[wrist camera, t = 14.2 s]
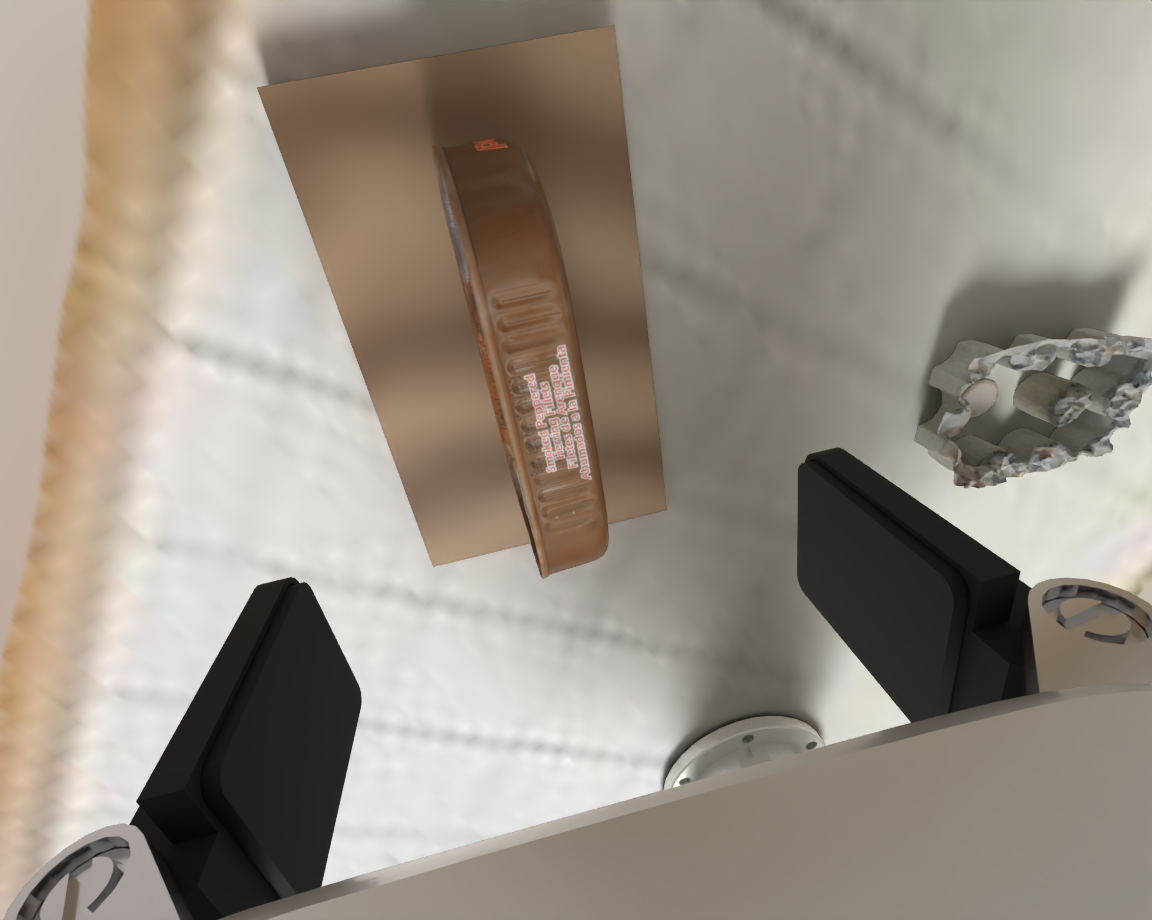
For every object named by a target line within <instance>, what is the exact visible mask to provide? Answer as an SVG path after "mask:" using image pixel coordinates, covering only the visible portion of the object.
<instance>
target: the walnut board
mask: <svg viewBox="0 0 1152 920" xmlns="http://www.w3.org/2000/svg"><path fill="white" fill-rule="evenodd" d="M257 89H258V92H259V95H260V97H261V100H262V103H263V106H264V108H265V111H266V114H267V116H268V119H269V122H270V125H271V127H272V130H273V133H274V135H275V138H276V141H277V144H278V146H279V149H280V152H281V155H282V157H283V160H284V163H285V165H286V168H287V171H288V174H289V176H290V179H291V182H292V184H293V187H294V190H295V193H296V195H297V198H298V201H299V203H300V206H301V209H302V212H303V214H304V217H305V220H306V222H307V225H308V228H309V231H310V233H311V236H312V239H313V242H314V244H315V247H316V250H317V252H318V255H319V258H320V261H321V263H322V266H323V269H324V271H325V274H326V277H327V280H328V282H329V285H330V288H331V290H332V293H333V296H334V299H335V301H336V304H337V307H338V309H339V312H340V315H341V318H342V320H343V323H344V326H345V329H346V331H347V334H348V337H349V339H350V342H351V345H352V348H353V350H354V353H355V356H356V358H357V361H358V364H359V367H360V369H361V372H362V375H363V377H364V380H365V383H366V386H367V388H368V391H369V394H370V397H371V399H372V402H373V405H374V407H375V410H376V413H377V416H378V418H379V421H380V424H381V426H382V429H383V432H384V435H385V437H386V440H387V443H388V445H389V448H390V451H391V454H392V456H393V459H394V462H395V464H396V467H397V470H398V473H399V475H400V478H401V481H402V484H403V486H404V489H405V492H406V494H407V497H408V500H409V503H410V505H411V508H412V511H413V513H414V516H415V519H416V522H417V524H418V527H419V530H420V532H421V535H422V538H423V541H424V543H425V546H426V549H427V552H428V554H429V557H430V560H431V562H432V565H433V567H435V566H439V565H444V564H448V563H452V562H456V561H460V560H464V559H468V558H472V557H476V556H480V555H484V554H488V553H493V552H497V551H501V550H505V549H509V548H513V547H517V546H521V545H525V544H529V543H531V541H530V537H529V534H528V531H527V528H526V525H525V522H524V518H523V514H522V511H521V508H520V505H519V501H518V497H517V495H516V491H515V487H514V484H513V480H512V477H511V473H510V469H509V465H508V461H507V457H506V454H505V450H504V447H503V444H502V439H501V435H500V432H499V428H498V424H497V420H496V416H495V412H494V409H493V405H492V401H491V397H490V393H489V389H488V385H487V380H486V376H485V373H484V369H483V364H482V360H481V357H480V353H479V349H478V345H477V341H476V337H475V333H474V329H473V325H472V321H471V317H470V313H469V310H468V305H467V302H466V297H465V294H464V290H463V286H462V282H461V278H460V274H459V270H458V265H457V261H456V257H455V252H454V249H453V246H452V242H451V238H450V234H449V230H448V226H447V222H446V218H445V214H444V210H443V205H442V200H441V195H440V189H439V184H438V178H437V173H436V168H435V164H434V158H433V153H432V146H433V145H440V146H441V147H451V146H457V145H463V144H468V143H473V142H478V141H483V140H488V139H495V138H506V139H509V140H511V141H512V142H514V143H516V144H517V145H519V146H520V147H522V148H523V149H524V151H525V152H526V153H527V154H528V156H529V157H530V159H531V161H532V163H533V165H534V167H535V169H536V171H537V174H538V176H539V179H540V181H541V183H542V186H543V189H544V192H545V195H546V198H547V201H548V204H549V207H550V210H551V213H552V217H553V220H554V224H555V228H556V232H557V236H558V240H559V244H560V248H561V253H562V257H563V261H564V266H565V271H566V275H567V280H568V285H569V290H570V296H571V302H572V307H573V313H574V318H575V324H576V329H577V334H578V339H579V346H580V353H581V358H582V363H583V368H584V374H585V380H586V386H587V392H588V398H589V404H590V410H591V415H592V421H593V427H594V433H595V440H596V446H597V451H598V458H599V465H600V471H601V477H602V484H603V490H604V496H605V503H606V511H607V519H608V524H611V523H615V522H619V521H623V520H627V519H632V518H636V517H640V516H644V515H648V514H652V513H656V512H660V511H664V510H667V505H666V496H665V487H664V477H663V468H662V459H661V450H660V441H659V431H658V422H657V413H656V404H655V395H654V386H653V376H652V367H651V358H650V349H649V340H648V330H647V321H646V312H645V303H644V294H643V285H642V275H641V266H640V257H639V248H638V239H637V229H636V220H635V211H634V202H633V193H632V184H631V174H630V165H629V156H628V147H627V138H626V128H625V119H624V110H623V101H622V92H621V82H620V73H619V64H618V55H617V46H616V37H615V27H614V25H613V26H607V27H601V28H595V29H590V30H584V31H578V32H572V33H567V34H561V35H555V36H550V37H544V38H538V39H532V40H527V41H521V42H515V43H509V44H504V45H498V46H492V47H486V48H481V49H475V50H469V51H463V52H458V53H452V54H446V55H440V56H435V57H429V58H423V59H417V60H412V61H406V62H400V63H394V64H389V65H383V66H377V67H371V68H366V69H360V70H354V71H349V72H343V73H337V74H331V75H326V76H320V77H314V78H308V79H303V80H297V81H291V82H285V83H280V84H274V85H268V86H262V87H257Z"/></svg>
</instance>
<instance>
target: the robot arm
mask: <svg viewBox="0 0 1152 920" xmlns="http://www.w3.org/2000/svg"><path fill="white" fill-rule="evenodd" d="M797 576H798V581H799V584H800V587H801V589H802V591H803V592H804V594H805V595H806V596H807V597H808V598H809V600H810V601H811V602H812V603H813V604H814V606H815V607H816V608H817V609H818V611H819V612H820V613H821V614H822V615H823V617H824V618H825V619H826V620H827V621H828V623H829V624H830V625H831V626H832V627H833V629H834V630H835V631H836V632H837V633H838V635H839V636H840V637H841V638H842V639H843V641H844V642H845V643H846V644H847V646H848V647H849V648H850V649H851V650H852V652H853V653H854V654H855V655H856V656H857V658H858V659H859V660H860V661H861V662H862V664H863V665H864V666H865V667H866V668H867V670H868V671H869V672H870V673H871V675H872V676H873V677H874V678H875V679H876V681H877V682H878V683H879V684H880V685H881V687H882V688H883V689H884V690H885V691H886V693H887V694H888V695H889V696H890V697H891V699H892V700H893V701H894V702H895V704H896V705H897V706H898V707H899V708H900V710H901V711H902V712H903V713H904V714H905V716H906V717H907V718H908V719H909V720H910V722H911V723H909V724H905V725H901V726H897V727H894V728H890V729H886V730H883V731H879V732H875V733H871V734H868V735H864V736H860V737H857V738H853V739H849V740H846V741H842V742H838V743H835V744H831V745H827V746H825V744H824V742H823V741H822V739H821V738H820V736H819V735H818V733H817V732H816V731H815V730H814V729H813V728H812V727H811V726H809V725H808V724H807V723H804V722H802V721H800V720H798V719H794V718H789V717H785V716H761V717H753V718H749V719H745V720H741V721H737V722H734V723H732V724H729V725H726V726H724V727H721V728H719V729H717V730H715V731H713V732H711V733H710V734H708V735H706V736H705V737H703V738H702V739H700V740H699V741H697V742H696V743H694V744H693V745H692V746H691V747H690V748H689V749H687V750H686V751H685V752H684V753H683V754H682V755H681V756H680V758H679V759H678V760H677V761H676V763H675V764H674V765H673V767H672V768H671V770H670V772H669V774H668V776H667V778H666V781H665V785H664V790H662V791H659V792H655V793H651V794H648V795H644V796H640V797H637V798H633V799H630V800H626V801H622V802H619V803H615V804H612V805H608V806H604V807H601V808H597V809H594V810H590V811H586V812H583V813H579V814H576V815H572V816H568V817H565V818H561V819H558V820H554V821H550V822H547V823H543V824H540V825H536V826H532V827H529V828H525V829H522V830H518V831H515V832H511V833H508V834H504V835H501V836H497V837H494V838H490V839H487V840H483V841H479V842H476V843H472V844H469V845H465V846H462V847H458V848H455V849H451V850H448V851H444V852H441V853H437V854H433V855H430V856H426V857H423V858H419V859H416V860H412V861H409V862H405V863H402V864H398V865H395V866H391V867H388V868H384V869H380V870H377V871H373V872H370V873H366V874H363V875H360V876H356V877H353V878H350V879H346V880H343V881H340V882H336V883H333V884H330V885H326V886H323V887H321V886H322V881H323V877H324V872H325V867H326V863H327V858H328V854H329V849H330V845H331V840H332V836H333V831H334V827H335V822H336V818H337V813H338V809H339V804H340V800H341V795H342V791H343V786H344V781H345V777H346V772H347V768H348V763H349V759H350V754H351V750H352V745H353V741H354V736H355V732H356V727H357V723H358V718H359V714H360V709H361V691H360V687H359V685H358V683H357V681H356V679H355V677H354V674H353V672H352V670H351V668H350V666H349V664H348V662H347V660H346V658H345V656H344V654H343V652H342V650H341V648H340V646H339V644H338V642H337V640H336V638H335V636H334V634H333V632H332V630H331V628H330V626H329V624H328V622H327V620H326V618H325V615H324V613H323V611H322V609H321V607H320V605H319V603H318V601H317V599H316V597H315V595H314V593H313V591H312V589H311V587H310V586H309V585H308V584H307V583H305V582H303V583H299V582H298V581H297V580H296V579H295V578H292V577H290V578H286V579H281V580H277V581H273V582H269V583H265V584H261V585H258V586H257V587H256V588H255V589H254V591H253V593H252V595H251V596H250V598H249V600H248V602H247V604H246V605H245V607H244V609H243V611H242V612H241V614H240V616H239V618H238V620H237V621H236V623H235V625H234V627H233V629H232V630H231V632H230V634H229V636H228V638H227V639H226V641H225V643H224V645H223V647H222V648H221V650H220V652H219V654H218V656H217V657H216V659H215V661H214V663H213V665H212V666H211V668H210V670H209V672H208V674H207V675H206V677H205V679H204V681H203V683H202V684H201V686H200V688H199V690H198V691H197V693H196V695H195V697H194V699H193V700H192V702H191V704H190V706H189V708H188V709H187V711H186V713H185V715H184V717H183V718H182V720H181V722H180V724H179V726H178V727H177V729H176V731H175V733H174V735H173V736H172V738H171V740H170V742H169V744H168V745H167V747H166V749H165V751H164V753H163V754H162V756H161V758H160V760H159V762H158V763H157V765H156V767H155V769H154V771H153V772H152V774H151V776H150V778H149V779H148V781H147V783H146V785H145V787H144V788H143V790H142V792H141V794H140V796H139V797H138V799H137V801H136V802H137V803H138V804H139V808H138V810H137V812H136V814H135V815H134V817H133V819H132V821H131V823H130V825H127V824H118V825H113V826H108V827H104V828H102V829H100V830H98V831H95V832H93V833H91V834H88V835H86V836H84V837H83V838H81V839H80V840H78V841H76V842H75V843H73V844H72V845H70V846H69V847H67V848H65V849H64V850H63V851H62V852H60V853H59V854H58V855H57V856H55V857H54V858H53V859H52V860H51V861H49V862H48V863H47V864H46V865H45V866H43V867H42V868H41V869H40V871H39V872H38V873H37V874H36V875H35V876H34V877H33V878H32V879H31V880H30V881H29V882H28V883H27V884H26V885H25V886H24V888H23V889H22V890H21V892H20V893H19V895H18V896H17V897H16V899H15V900H14V902H13V903H12V904H11V906H10V907H9V909H8V910H7V913H6V915H5V917H4V919H3V920H1152V605H1150V604H1149V603H1148V602H1146V601H1144V600H1142V599H1141V598H1139V597H1137V596H1135V595H1133V594H1132V593H1130V592H1128V591H1125V590H1122V589H1120V588H1117V587H1114V586H1111V585H1109V584H1105V583H1101V582H1096V581H1092V580H1088V579H1077V578H1057V579H1049V580H1046V581H1043V582H1040V583H1038V584H1036V585H1035V586H1034V587H1033V588H1030V587H1029V586H1027V585H1026V584H1025V583H1023V582H1022V581H1020V580H1019V576H1020V571H1019V570H1018V569H1016V568H1015V567H1013V566H1012V565H1010V564H1009V563H1007V562H1006V561H1005V560H1003V559H1002V558H1000V557H999V556H997V555H996V554H994V553H993V552H992V551H990V550H989V549H987V548H986V547H984V546H983V545H981V544H980V543H978V542H977V541H976V540H974V539H973V538H971V537H970V536H968V535H967V534H965V533H964V532H963V531H961V530H960V529H958V528H957V527H955V526H954V525H952V524H951V523H949V522H948V521H947V520H945V519H944V518H942V517H941V516H939V515H938V514H936V513H935V512H934V511H932V510H931V509H929V508H928V507H926V506H925V505H923V504H922V503H920V502H919V501H918V500H916V499H915V498H913V497H912V496H910V495H909V494H907V493H906V492H905V491H903V490H902V489H900V488H899V487H897V486H896V485H894V484H893V483H891V482H890V481H889V480H887V479H886V478H884V477H883V476H881V475H880V474H878V473H877V472H876V471H874V470H873V469H871V468H870V467H868V466H867V465H865V464H864V463H862V462H861V461H860V460H858V459H857V458H855V457H854V456H852V455H851V454H849V453H848V452H847V451H845V450H844V449H841V448H833V449H829V450H825V451H821V452H816V453H812V454H809V455H808V456H807V458H806V460H805V463H802V464H801V465H800V466H799V468H798V538H797Z"/></svg>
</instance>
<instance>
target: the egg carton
mask: <svg viewBox="0 0 1152 920" xmlns="http://www.w3.org/2000/svg"><path fill="white" fill-rule="evenodd" d="M1056 357H1057V358H1061V359H1064V360H1067V361H1070V362H1074V363H1076V364H1080V365H1083V366H1086V368H1084V369H1082V370H1081V371H1080V372H1078V373H1077V374H1076V375H1075V376H1074V377H1073V378H1072V379H1071V381H1070V380H1067V379H1064V378H1061V377H1058V376H1055V375H1052V374H1048V373H1045V372H1041V371H1043V370H1044V369H1045V368H1046V367H1048V366H1049V365H1050V364H1051V363H1052V362H1053V361H1054V360H1055V359H1056ZM996 363H997V364H999V365H1002V366H1005V367H1008V368H1011V369H1013V370H1017V371H1025V370H1031V369H1032V370H1038V371H1040V372H1036V373H1034V374H1032V375H1030V376H1028V377H1027V378H1026V379H1025V380H1024V381H1022V382H1021V383H1020V384H1019V386H1018V387H1017V389H1016V391H1015V393H1014V397H1013V404H1014V406H1015V407H1016V408H1017V409H1019V410H1021V411H1023V412H1025V413H1028V414H1030V415H1032V416H1034V417H1036V418H1039V419H1041V420H1044V421H1046V422H1049V423H1051V424H1053V425H1055V426H1056V427H1057V428H1056V429H1055V430H1054V431H1053V432H1052V433H1051V435H1050V437H1049V438H1047V437H1045V436H1043V435H1041V434H1038V433H1036V432H1034V431H1031V430H1029V429H1025V428H1019V429H1015V430H1013V431H1011V432H1009V433H1008V434H1006V435H1005V437H1004V438H1003V439H1002V440H1001V441H1000V443H999V444H998V445H997V446H995V445H993V444H991V443H989V442H987V441H985V440H983V439H981V438H978V437H976V436H974V435H967V436H963V437H961V438H959V439H957V440H956V441H955V442H952V441H951V440H949V438H951V437H954V436H955V435H957V434H959V433H960V432H961V430H962V429H963V427H964V426H965V425H966V423H967V422H968V420H969V419H970V418H974V417H978V416H980V415H982V414H984V413H985V412H986V411H988V410H989V409H990V408H991V406H992V405H993V404H994V403H995V401H996V399H997V395H998V387H997V385H996V384H995V382H993V381H991V380H988V379H983V380H979V379H982V378H985V377H986V376H988V375H989V374H990V371H991V369H992V368H993V367H994V366H995V364H996ZM1151 372H1152V338H1141V337H1132V336H1120V335H1116V334H1112V333H1107V332H1104V331H1100V330H1095V329H1091V328H1077V329H1073V330H1072V332H1071V333H1070V335H1069V337H1068V338H1067V339H1066V340H1064V339H1050V338H1046V337H1042V336H1038V335H1035V334H1021V335H1017V336H1016V337H1015V339H1014V341H1013V342H1012V344H1011V345H1010V347H1009V348H1008V349H1006V350H1003V349H1001V348H998V347H995V346H992V345H989V344H986V343H982V342H979V341H976V340H966V341H960V342H959V343H958V344H957V346H956V348H955V350H954V352H953V353H952V355H951V356H950V357H949V358H948V359H947V360H946V361H944V362H943V363H941V364H939V365H937V366H935V367H934V368H933V370H932V372H931V376H930V379H929V385H930V386H933V387H935V388H939V389H940V390H941V392H942V404H941V407H940V409H939V411H938V412H937V414H936V415H935V416H934V417H933V418H932V419H931V420H929V421H927V422H925V423H923V424H921V425H919V426H918V428H917V432H916V436H915V440H914V441H915V442H917V443H919V444H920V445H922V446H924V447H925V448H927V449H928V453H929V455H930V456H931V457H932V458H934V459H935V460H936V461H938V462H939V463H940V464H941V465H943V466H944V467H946V468H947V469H949V470H952V471H954V484H955V485H957V486H964V487H963V488H969V487H976V488H981V487H985V486H996V485H997V484H1000V483H1003V482H1007V481H1006V478H1005V477H1022V476H1023V475H1024V474H1025V473H1031V472H1037V471H1049V470H1052V469H1054V468H1057V467H1060V466H1062V465H1064V464H1066V463H1067V462H1071V461H1075V460H1077V458H1078V456H1080V455H1085V456H1090V457H1098V456H1102V455H1103V454H1105V453H1110V452H1112V450H1113V446H1112V444H1111V443H1110V440H1109V439H1110V437H1111V435H1112V434H1113V432H1114V431H1115V430H1116V429H1118V428H1129V426H1130V425H1131V423H1130V419H1129V414H1130V412H1131V411H1132V410H1134V409H1135V408H1136V407H1138V404H1140V403H1141V398H1142V394H1143V393H1144V392H1145V391H1146V390H1147V389H1148V387H1149V386H1150V385H1152V377H1151ZM977 380H979V381H977ZM976 381H977V382H976ZM969 383H971V384H972V385H971V386H970V387H968V388H967V389H966V390H965V392H964V393H963V395H962V396H961V397H960V391H961V389H962V387H963V386H964V385H965V384H969Z"/></svg>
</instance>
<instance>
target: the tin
mask: <svg viewBox="0 0 1152 920" xmlns="http://www.w3.org/2000/svg"><path fill="white" fill-rule="evenodd" d="M432 153H433V158H434V164H435V168H436V173H437V178H438V184H439V189H440V195H441V200H442V205H443V210H444V214H445V218H446V222H447V226H448V230H449V234H450V238H451V242H452V246H453V249H454V252H455V257H456V261H457V265H458V270H459V274H460V278H461V282H462V286H463V290H464V294H465V297H466V302H467V305H468V310H469V313H470V317H471V321H472V325H473V329H474V333H475V337H476V341H477V345H478V349H479V353H480V357H481V360H482V364H483V369H484V373H485V376H486V380H487V385H488V389H489V393H490V397H491V401H492V405H493V409H494V412H495V416H496V420H497V424H498V428H499V432H500V435H501V439H502V444H503V447H504V450H505V454H506V457H507V461H508V465H509V469H510V473H511V477H512V480H513V484H514V487H515V491H516V495H517V497H518V501H519V505H520V508H521V511H522V514H523V518H524V522H525V525H526V528H527V531H528V534H529V537H530V541H531V545H532V549H533V552H534V555H535V559H536V562H537V565H538V568H539V571H540V575H541V577H542V578H543V579H544V578H547V577H548V576H549V575H550V574H552V573H555V572H559V571H562V570H565V569H569V568H572V567H576V566H579V565H582V564H585V563H588V562H591V561H594V560H596V559H599V558H600V557H602V556H603V555H604V554H605V552H606V550H607V547H608V539H609V536H608V519H607V511H606V503H605V496H604V490H603V484H602V477H601V471H600V465H599V458H598V451H597V446H596V440H595V433H594V427H593V421H592V415H591V410H590V404H589V398H588V392H587V386H586V380H585V374H584V368H583V363H582V358H581V353H580V346H579V339H578V334H577V329H576V324H575V318H574V313H573V307H572V302H571V296H570V290H569V285H568V280H567V275H566V271H565V266H564V261H563V257H562V253H561V248H560V244H559V240H558V236H557V232H556V228H555V224H554V220H553V217H552V213H551V210H550V207H549V204H548V201H547V198H546V195H545V192H544V189H543V186H542V183H541V181H540V179H539V176H538V174H537V171H536V169H535V167H534V165H533V163H532V161H531V159H530V157H529V156H528V154H527V153H526V152H525V151H524V149H523V148H522V147H520V146H519V145H517V144H516V143H514V142H512V141H511V140H509V139H506V138H495V139H488V140H483V141H478V142H473V143H468V144H463V145H457V146H451V147H441V146H440V145H433V146H432Z"/></svg>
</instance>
